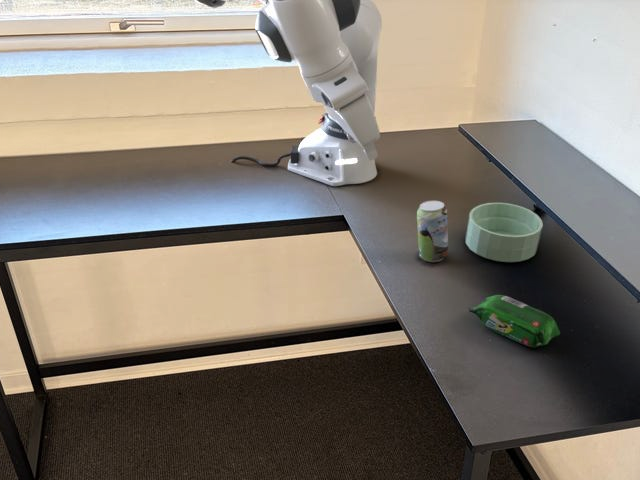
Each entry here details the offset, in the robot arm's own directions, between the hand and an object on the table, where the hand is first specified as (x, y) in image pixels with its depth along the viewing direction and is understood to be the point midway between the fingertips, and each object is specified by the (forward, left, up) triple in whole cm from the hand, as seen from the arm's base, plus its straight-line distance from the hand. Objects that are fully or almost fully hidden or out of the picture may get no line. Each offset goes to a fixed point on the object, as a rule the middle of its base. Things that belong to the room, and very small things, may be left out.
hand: (363, 148), depth 131 cm
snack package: (+34, -6, -25) cm, 42 cm away
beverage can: (+12, +12, -25) cm, 30 cm away
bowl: (+24, +24, -25) cm, 42 cm away
